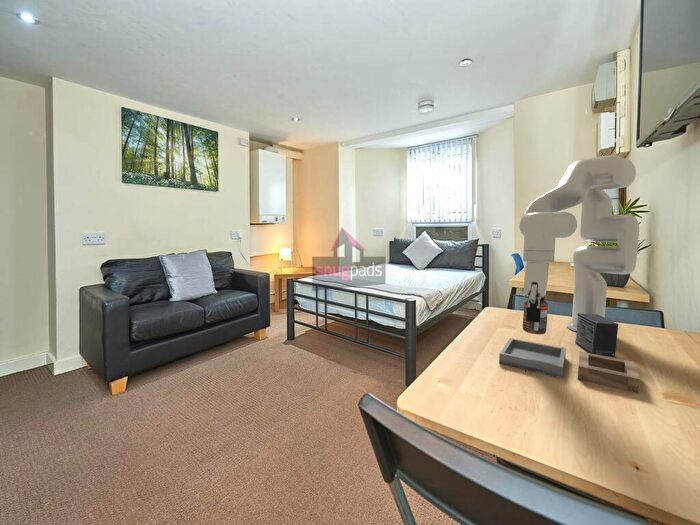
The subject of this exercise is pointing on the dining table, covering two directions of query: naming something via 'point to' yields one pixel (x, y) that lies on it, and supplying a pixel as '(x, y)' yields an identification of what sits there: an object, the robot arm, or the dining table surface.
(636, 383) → the holder block
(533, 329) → the supplement bottle
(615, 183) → the robot arm
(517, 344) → the tray
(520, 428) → the dining table surface
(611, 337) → the small box
